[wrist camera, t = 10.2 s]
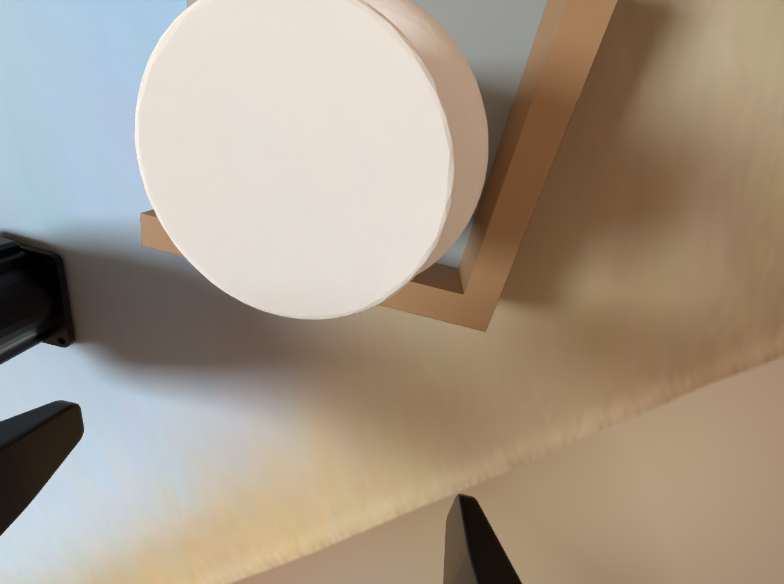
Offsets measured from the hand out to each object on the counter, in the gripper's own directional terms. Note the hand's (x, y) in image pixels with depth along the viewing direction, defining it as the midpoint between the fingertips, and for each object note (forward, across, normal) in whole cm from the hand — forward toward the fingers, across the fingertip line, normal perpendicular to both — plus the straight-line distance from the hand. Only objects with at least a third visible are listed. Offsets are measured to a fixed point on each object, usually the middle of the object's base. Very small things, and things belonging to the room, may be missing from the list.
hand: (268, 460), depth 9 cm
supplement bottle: (+12, 0, -7) cm, 14 cm away
